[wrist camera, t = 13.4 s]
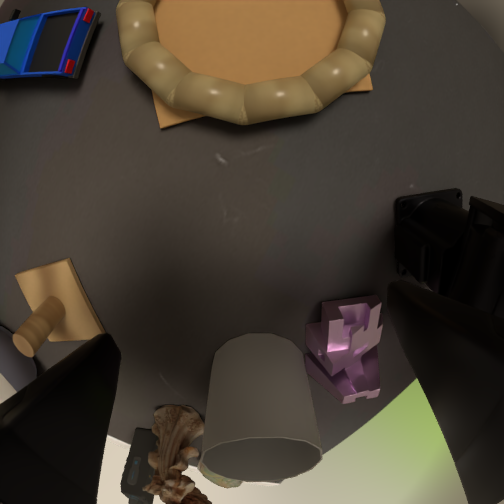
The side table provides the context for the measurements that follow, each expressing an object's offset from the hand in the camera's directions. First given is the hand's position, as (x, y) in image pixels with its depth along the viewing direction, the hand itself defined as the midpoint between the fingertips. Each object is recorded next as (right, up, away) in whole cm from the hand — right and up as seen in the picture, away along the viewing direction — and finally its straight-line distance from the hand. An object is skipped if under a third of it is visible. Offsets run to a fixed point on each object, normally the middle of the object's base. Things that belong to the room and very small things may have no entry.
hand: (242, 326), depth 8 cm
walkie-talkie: (-13, -22, +23) cm, 34 cm away
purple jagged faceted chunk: (+8, -5, +15) cm, 18 cm away
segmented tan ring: (0, +17, +4) cm, 18 cm away
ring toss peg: (-18, -3, +14) cm, 23 cm away
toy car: (-17, +18, +5) cm, 25 cm away
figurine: (-7, -16, +20) cm, 27 cm away
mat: (0, +18, +5) cm, 19 cm away
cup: (+1, -8, +17) cm, 19 cm away
